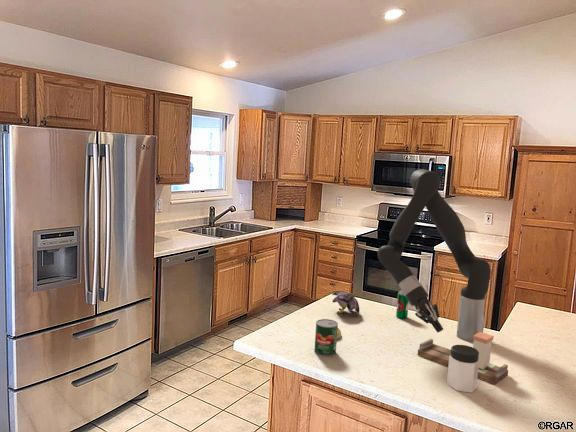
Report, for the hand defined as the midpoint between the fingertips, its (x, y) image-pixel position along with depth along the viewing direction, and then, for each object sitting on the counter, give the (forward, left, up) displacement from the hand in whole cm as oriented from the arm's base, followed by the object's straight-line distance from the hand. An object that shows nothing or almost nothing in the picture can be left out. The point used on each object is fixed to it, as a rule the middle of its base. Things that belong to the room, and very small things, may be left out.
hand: (440, 331), depth 162 cm
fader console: (-3, +8, -10) cm, 13 cm away
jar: (+8, +20, -10) cm, 24 cm away
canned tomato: (+38, -16, -10) cm, 43 cm away
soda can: (-14, -39, -10) cm, 43 cm away
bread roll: (+29, -29, -10) cm, 42 cm away
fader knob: (-5, +14, -7) cm, 17 cm away
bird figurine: (+9, -50, -10) cm, 52 cm away
